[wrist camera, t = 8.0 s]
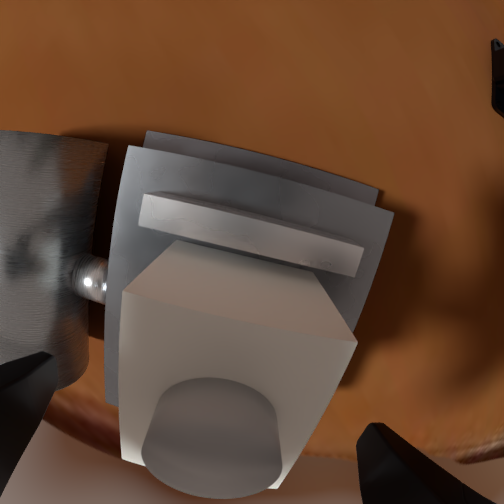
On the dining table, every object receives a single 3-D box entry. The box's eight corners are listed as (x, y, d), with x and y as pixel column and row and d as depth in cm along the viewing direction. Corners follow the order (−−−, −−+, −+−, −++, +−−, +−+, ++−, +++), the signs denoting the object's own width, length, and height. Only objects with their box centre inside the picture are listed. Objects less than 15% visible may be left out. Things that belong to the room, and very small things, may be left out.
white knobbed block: (312, 271, 11) (383, 383, 5) (268, 397, 12) (280, 524, 6) (176, 239, 10) (89, 323, 4) (156, 372, 12) (109, 493, 6)
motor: (372, 188, 15) (450, 200, 8) (297, 399, 18) (314, 482, 11) (40, 120, 14) (-41, 107, 7) (26, 323, 17) (-31, 370, 10)
